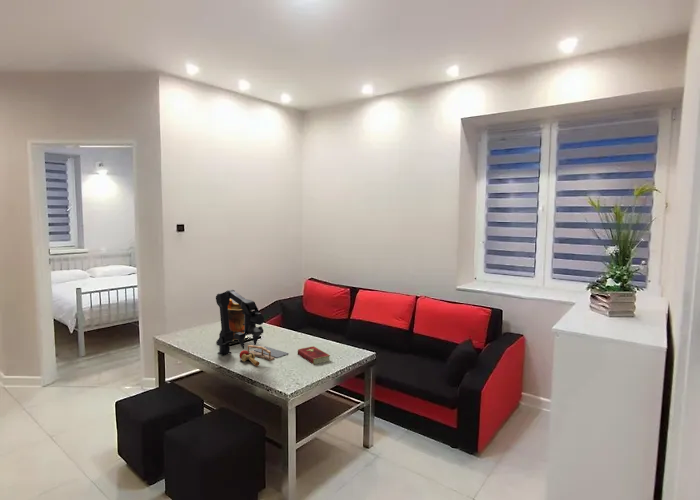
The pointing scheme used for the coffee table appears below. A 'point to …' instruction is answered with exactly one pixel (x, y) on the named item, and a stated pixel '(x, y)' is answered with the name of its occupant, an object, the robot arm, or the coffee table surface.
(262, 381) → the coffee table surface
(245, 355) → the kendama
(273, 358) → the tan wooden frame
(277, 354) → the mat
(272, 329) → the coffee table surface
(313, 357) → the hardcover book
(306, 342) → the coffee table surface
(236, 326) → the decorative vase
